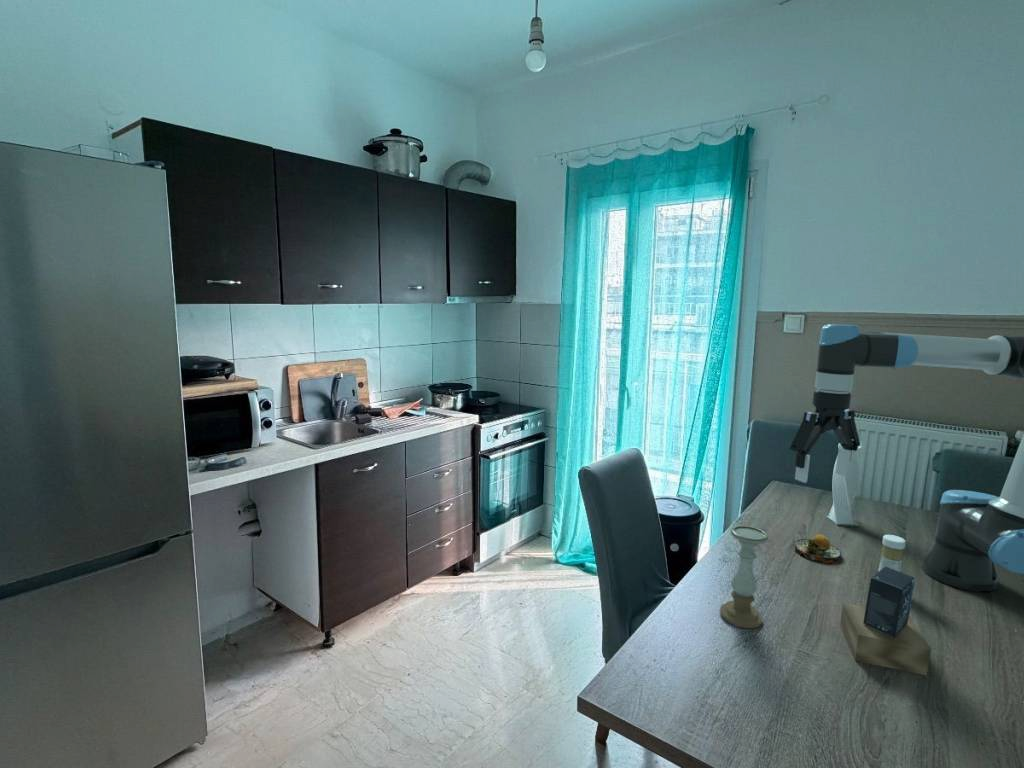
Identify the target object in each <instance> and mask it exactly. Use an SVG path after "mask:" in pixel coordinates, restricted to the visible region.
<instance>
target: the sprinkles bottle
mask: <svg viewBox="0 0 1024 768" xmlns="http://www.w3.org/2000/svg"><path fill="white" fill-rule="evenodd" d="M906 541H907V540H905V539H904V538H902V537H901V536H897V535H893V534H884V535H883V536H882V549H881V555H880V561H879V566H878V572H879V571H880V570H881V569H882V568H883V567H888V568H891V569H893V570H896V571H899V572H902V568H903V567H902V566H903V555H904V550H905V549H906V543H907V542H906Z"/></svg>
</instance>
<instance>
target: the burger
mask: <svg viewBox="0 0 1024 768" xmlns="http://www.w3.org/2000/svg"><path fill="white" fill-rule="evenodd" d="M827 535H828V534H826V535H823V534H815V535H814V536H813V537H812V538H811V539H809V538H808V539H806V538H801V539H797V540H796V541H794V543H793V546H794V548H795V551H794V552H795V553H796V555H800V557H801V556H802V554H803V556H804V557H805V558H806V559H807V560H811V561H817V562H819V561H821V562H822V564H828V563H831V564H836V563H839V562H841V559H842V557H841V556H842V552H841V551H840V549H839V548H838V547H836V546H834V545H832V544H831V541H830V539H828V537H827Z"/></svg>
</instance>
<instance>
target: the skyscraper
mask: <svg viewBox="0 0 1024 768" xmlns="http://www.w3.org/2000/svg"><path fill="white" fill-rule="evenodd" d="M859 441H860V446H859V447H857V450H856V451H854V450H852V454H851V461H850V465H849V473H848V477H845V476H842V475H839V474H836V466H837V458H838V455H837V456H836V459H835V463H834V466H833V472H832V480H831V481H832V482H831V483H832V484H831V485H832V487H831V488H832V501H833V503H832V506H831V508H830V511H829V514H828V515H824V518H826V519H828V520H829V521H830V522H832V523H833V524H834V523H835V525H836V526H839V525H842V526H843V527H860V524H859V523H857V522H856V521H855V520H854V519H853V513H852V508H851V507H852V503H853V502H854V499H855V497H856V494H857V492H858V489H859V486H860V485H859V484H860V482H861V481H860V479H861V460H860V453H861V450H862V449H863V442H862V441H861V440H859ZM837 447H838V449H839V448H843V447H842V446H841V444H840V442H839V443H838V445H837ZM842 526H841V527H842Z"/></svg>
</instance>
